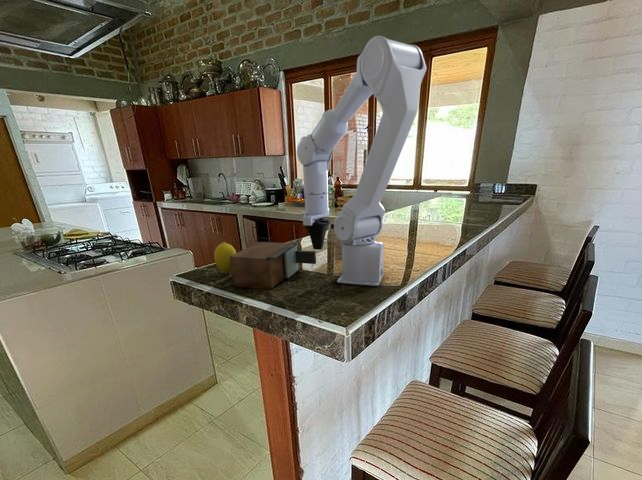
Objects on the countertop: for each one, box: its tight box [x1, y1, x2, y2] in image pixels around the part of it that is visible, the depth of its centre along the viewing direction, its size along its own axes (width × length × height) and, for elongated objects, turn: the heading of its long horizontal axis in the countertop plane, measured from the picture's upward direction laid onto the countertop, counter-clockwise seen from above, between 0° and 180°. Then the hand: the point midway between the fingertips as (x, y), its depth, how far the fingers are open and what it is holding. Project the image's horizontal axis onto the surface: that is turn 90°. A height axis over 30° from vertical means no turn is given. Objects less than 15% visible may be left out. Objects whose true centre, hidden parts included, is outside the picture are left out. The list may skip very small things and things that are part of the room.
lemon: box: [213, 241, 237, 274], centre depth 84 cm, size 6×6×8 cm
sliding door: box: [284, 244, 317, 279], centre depth 81 cm, size 6×7×6 cm
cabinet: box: [230, 241, 300, 290], centre depth 79 cm, size 11×14×7 cm
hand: (318, 248), depth 87 cm, fingers closed
